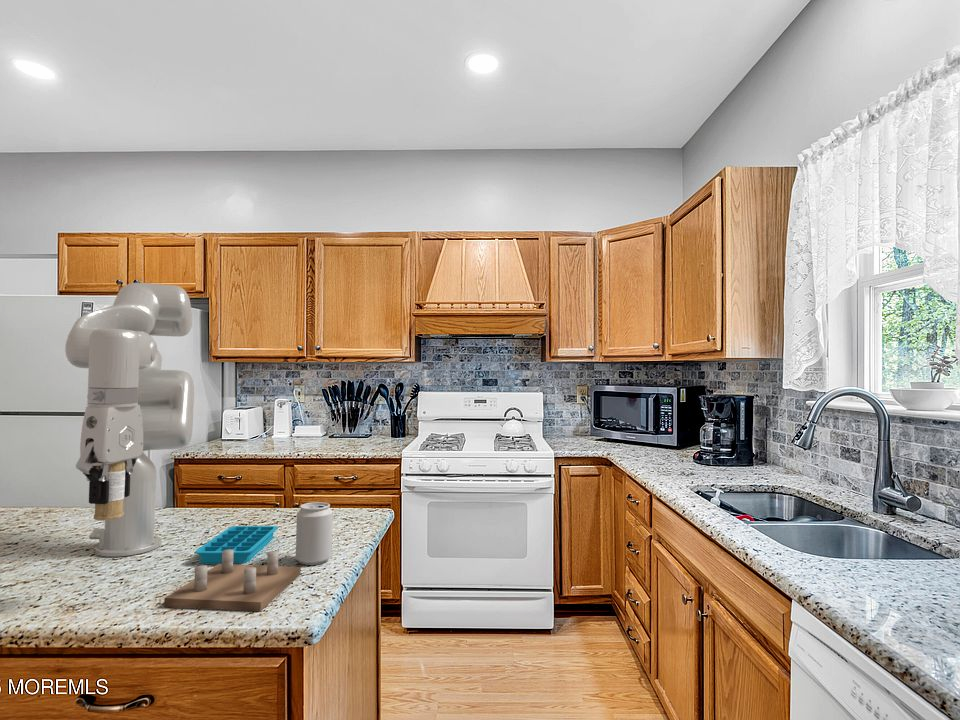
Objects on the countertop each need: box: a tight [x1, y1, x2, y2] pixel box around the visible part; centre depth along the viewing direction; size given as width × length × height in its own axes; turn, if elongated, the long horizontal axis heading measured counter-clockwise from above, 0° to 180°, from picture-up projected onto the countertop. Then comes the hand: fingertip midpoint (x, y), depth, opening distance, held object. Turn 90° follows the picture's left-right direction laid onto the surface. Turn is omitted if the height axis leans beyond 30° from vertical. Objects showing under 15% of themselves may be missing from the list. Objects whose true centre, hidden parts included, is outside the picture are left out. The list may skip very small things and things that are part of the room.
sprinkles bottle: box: [93, 460, 125, 522], centre depth 97 cm, size 5×5×14 cm
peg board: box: [163, 549, 302, 612], centre depth 100 cm, size 17×17×6 cm
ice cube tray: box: [194, 525, 279, 565], centre depth 123 cm, size 12×20×3 cm, turn 3°
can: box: [295, 501, 334, 566], centre depth 117 cm, size 8×8×12 cm
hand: (109, 498), depth 96 cm, fingers closed on sprinkles bottle, 4 cm apart
